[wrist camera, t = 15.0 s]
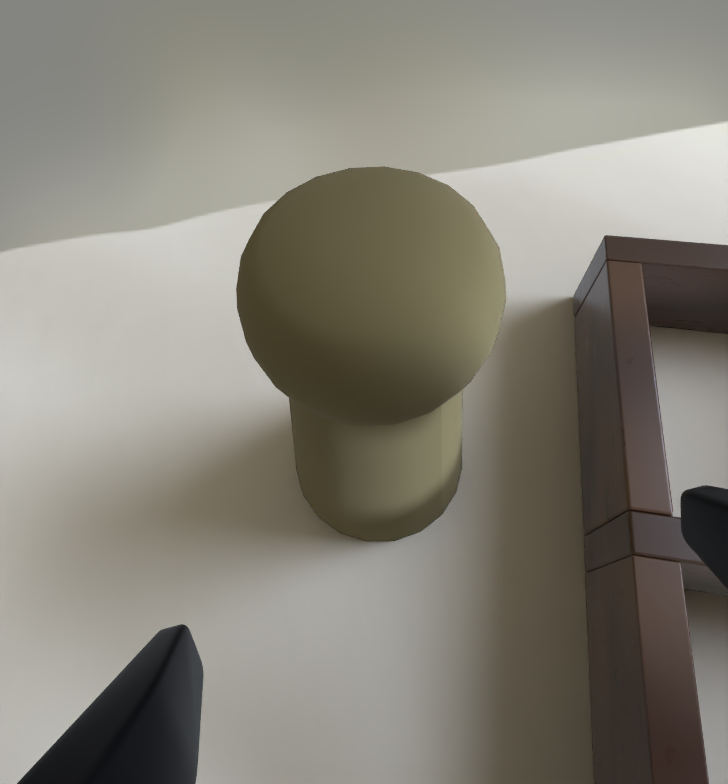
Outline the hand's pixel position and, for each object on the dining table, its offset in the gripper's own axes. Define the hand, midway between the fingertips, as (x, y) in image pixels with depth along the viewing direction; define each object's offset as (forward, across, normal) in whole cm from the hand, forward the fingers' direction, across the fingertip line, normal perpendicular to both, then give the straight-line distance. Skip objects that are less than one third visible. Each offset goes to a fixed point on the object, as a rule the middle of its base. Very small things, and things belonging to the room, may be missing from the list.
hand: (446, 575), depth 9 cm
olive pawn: (+9, 0, +2) cm, 10 cm away
